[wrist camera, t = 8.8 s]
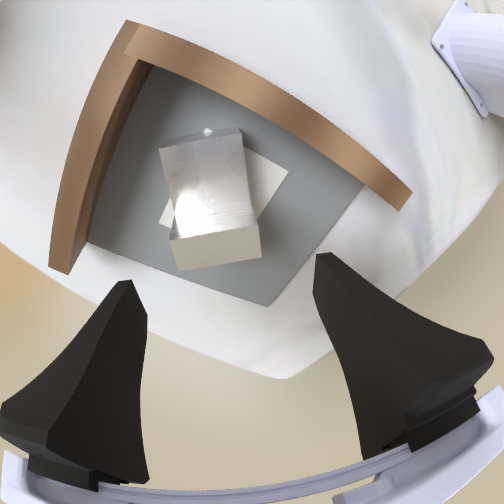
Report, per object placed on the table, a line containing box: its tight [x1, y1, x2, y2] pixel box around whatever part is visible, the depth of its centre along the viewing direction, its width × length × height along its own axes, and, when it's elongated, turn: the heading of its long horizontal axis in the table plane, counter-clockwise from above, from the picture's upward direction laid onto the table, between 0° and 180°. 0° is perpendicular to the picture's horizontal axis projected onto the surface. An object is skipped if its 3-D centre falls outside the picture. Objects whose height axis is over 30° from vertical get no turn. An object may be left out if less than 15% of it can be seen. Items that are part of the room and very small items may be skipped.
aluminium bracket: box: [159, 128, 262, 271], centre depth 15 cm, size 6×4×5 cm
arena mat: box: [87, 65, 364, 307], centre depth 18 cm, size 18×15×1 cm
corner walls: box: [48, 20, 413, 275], centre depth 16 cm, size 18×15×4 cm
